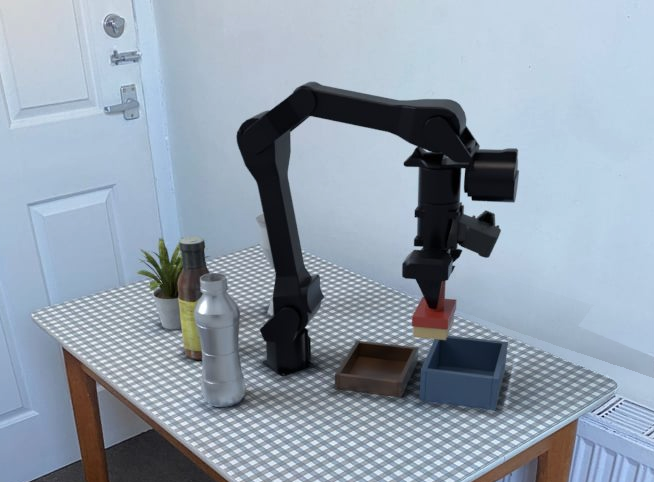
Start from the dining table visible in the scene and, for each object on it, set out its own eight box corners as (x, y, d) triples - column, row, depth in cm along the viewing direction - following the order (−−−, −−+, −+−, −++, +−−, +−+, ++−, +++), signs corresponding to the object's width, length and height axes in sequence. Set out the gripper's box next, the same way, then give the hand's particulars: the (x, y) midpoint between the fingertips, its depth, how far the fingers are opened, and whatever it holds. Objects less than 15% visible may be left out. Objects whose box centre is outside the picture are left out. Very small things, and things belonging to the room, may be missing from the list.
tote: (419, 403, 117) (420, 369, 115) (434, 365, 128) (436, 334, 125) (495, 413, 114) (498, 379, 111) (504, 373, 125) (508, 341, 122)
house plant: (192, 347, 137) (182, 257, 129) (122, 338, 141) (108, 250, 133) (225, 315, 148) (218, 230, 140) (160, 307, 153) (149, 225, 144)
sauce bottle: (215, 362, 131) (203, 248, 121) (179, 360, 133) (165, 246, 123) (226, 345, 137) (215, 234, 127) (192, 343, 138) (179, 233, 128)
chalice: (306, 308, 150) (303, 215, 141) (286, 321, 145) (282, 226, 136) (274, 301, 153) (269, 210, 144) (254, 314, 148) (247, 220, 139)
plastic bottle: (203, 392, 123) (189, 270, 113) (246, 389, 123) (236, 267, 113) (202, 414, 117) (187, 287, 107) (247, 410, 117) (237, 284, 107)
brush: (447, 341, 114) (449, 293, 110) (411, 337, 115) (412, 290, 112) (455, 320, 120) (457, 274, 116) (421, 317, 122) (423, 271, 118)
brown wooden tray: (334, 391, 121) (334, 374, 120) (356, 356, 132) (356, 340, 130) (401, 400, 118) (401, 382, 117) (417, 363, 129) (418, 347, 127)
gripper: (490, 222, 98) (482, 336, 106) (506, 183, 113) (498, 285, 121) (402, 217, 101) (400, 328, 109) (429, 181, 117) (426, 280, 124)
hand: (434, 304), depth 116 cm, fingers closed on brush, 3 cm apart
